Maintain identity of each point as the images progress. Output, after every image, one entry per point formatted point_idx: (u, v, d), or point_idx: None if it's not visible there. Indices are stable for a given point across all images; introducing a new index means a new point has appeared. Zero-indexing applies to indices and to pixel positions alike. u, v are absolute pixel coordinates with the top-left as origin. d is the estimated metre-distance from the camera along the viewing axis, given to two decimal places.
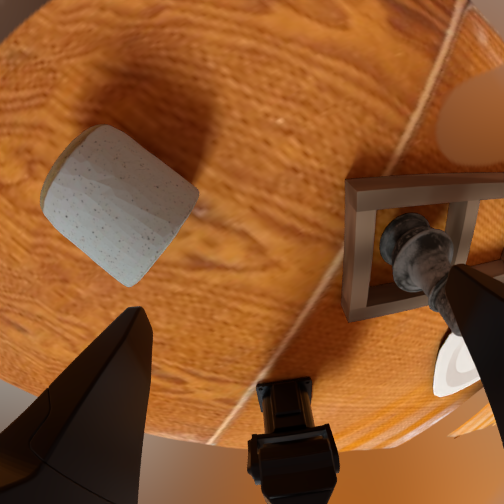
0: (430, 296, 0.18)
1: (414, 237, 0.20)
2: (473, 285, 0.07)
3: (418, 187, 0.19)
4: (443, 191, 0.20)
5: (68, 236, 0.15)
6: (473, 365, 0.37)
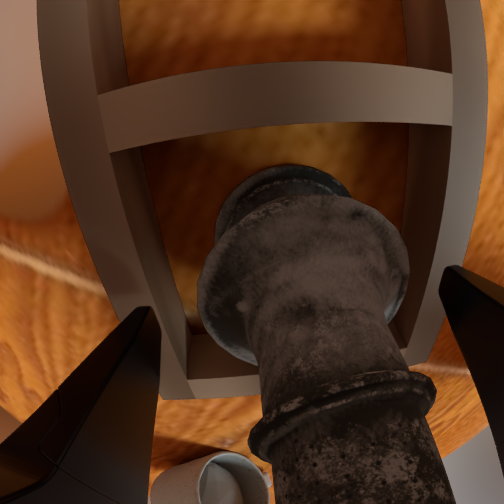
0: None
1: (225, 348, 0.09)
2: (466, 287, 0.07)
3: (121, 321, 0.09)
4: (107, 257, 0.08)
5: None
6: None
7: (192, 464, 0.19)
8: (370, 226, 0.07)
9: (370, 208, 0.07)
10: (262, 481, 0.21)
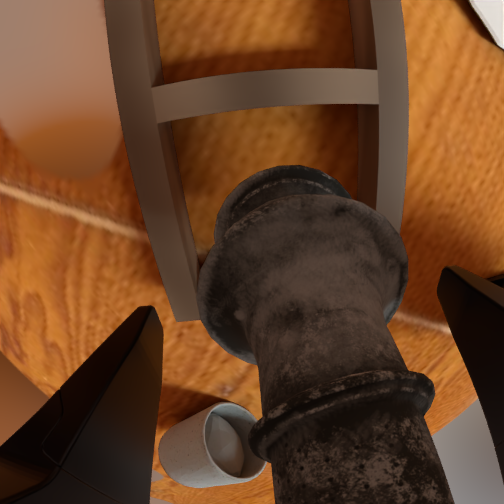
0: None
1: (234, 355, 0.09)
2: (465, 287, 0.07)
3: (152, 244, 0.14)
4: (148, 193, 0.13)
5: None
6: None
7: (198, 413, 0.24)
8: (356, 220, 0.07)
9: (354, 202, 0.07)
10: None
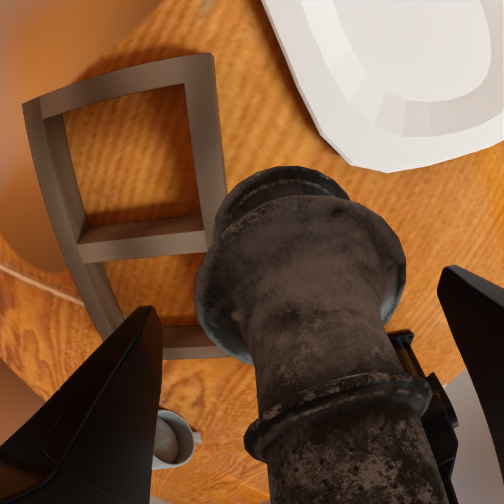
0: None
1: (232, 356, 0.09)
2: (465, 287, 0.07)
3: (92, 320, 0.22)
4: (86, 296, 0.21)
5: None
6: (480, 42, 0.14)
7: None
8: (353, 221, 0.07)
9: (351, 203, 0.07)
10: (190, 434, 0.34)
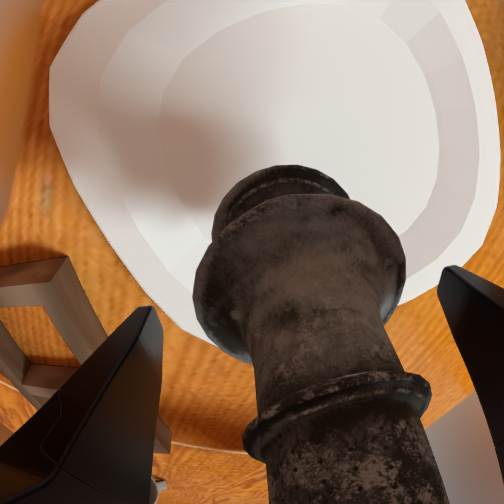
0: None
1: (231, 355, 0.09)
2: (465, 287, 0.07)
3: None
4: None
5: None
6: (419, 165, 0.14)
7: None
8: (353, 219, 0.07)
9: (350, 201, 0.07)
10: (155, 485, 0.34)
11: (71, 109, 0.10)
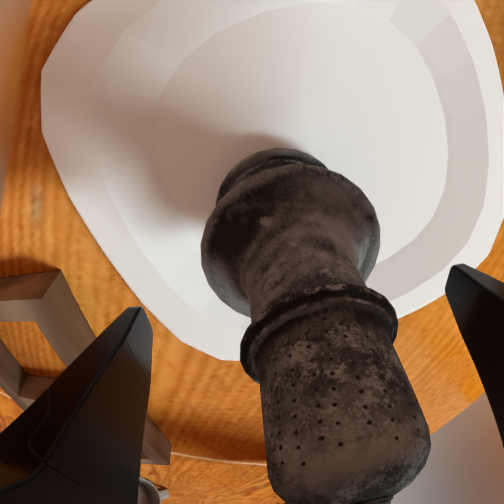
0: None
1: (201, 253, 0.09)
2: (473, 285, 0.07)
3: None
4: None
5: None
6: (427, 173, 0.13)
7: None
8: (370, 231, 0.09)
9: (377, 221, 0.09)
10: (157, 494, 0.33)
11: (63, 115, 0.10)
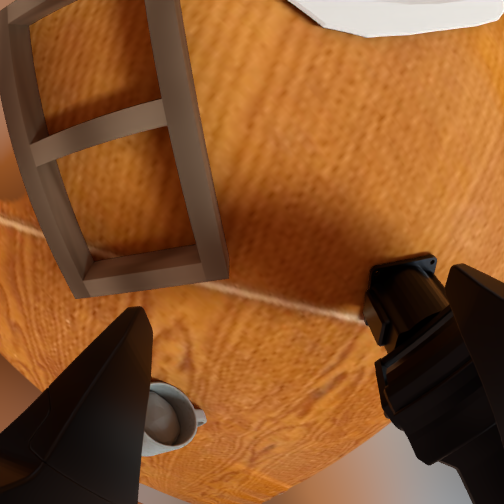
0: None
1: None
2: (473, 285, 0.07)
3: (48, 244, 0.18)
4: (40, 211, 0.17)
5: None
6: None
7: None
8: None
9: None
10: (192, 411, 0.30)
11: None
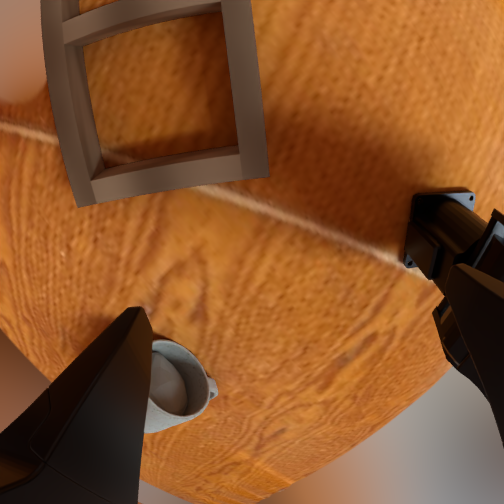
0: None
1: None
2: (473, 285, 0.07)
3: (58, 134, 0.15)
4: (56, 93, 0.13)
5: (161, 429, 0.24)
6: None
7: None
8: None
9: None
10: (204, 378, 0.27)
11: None
